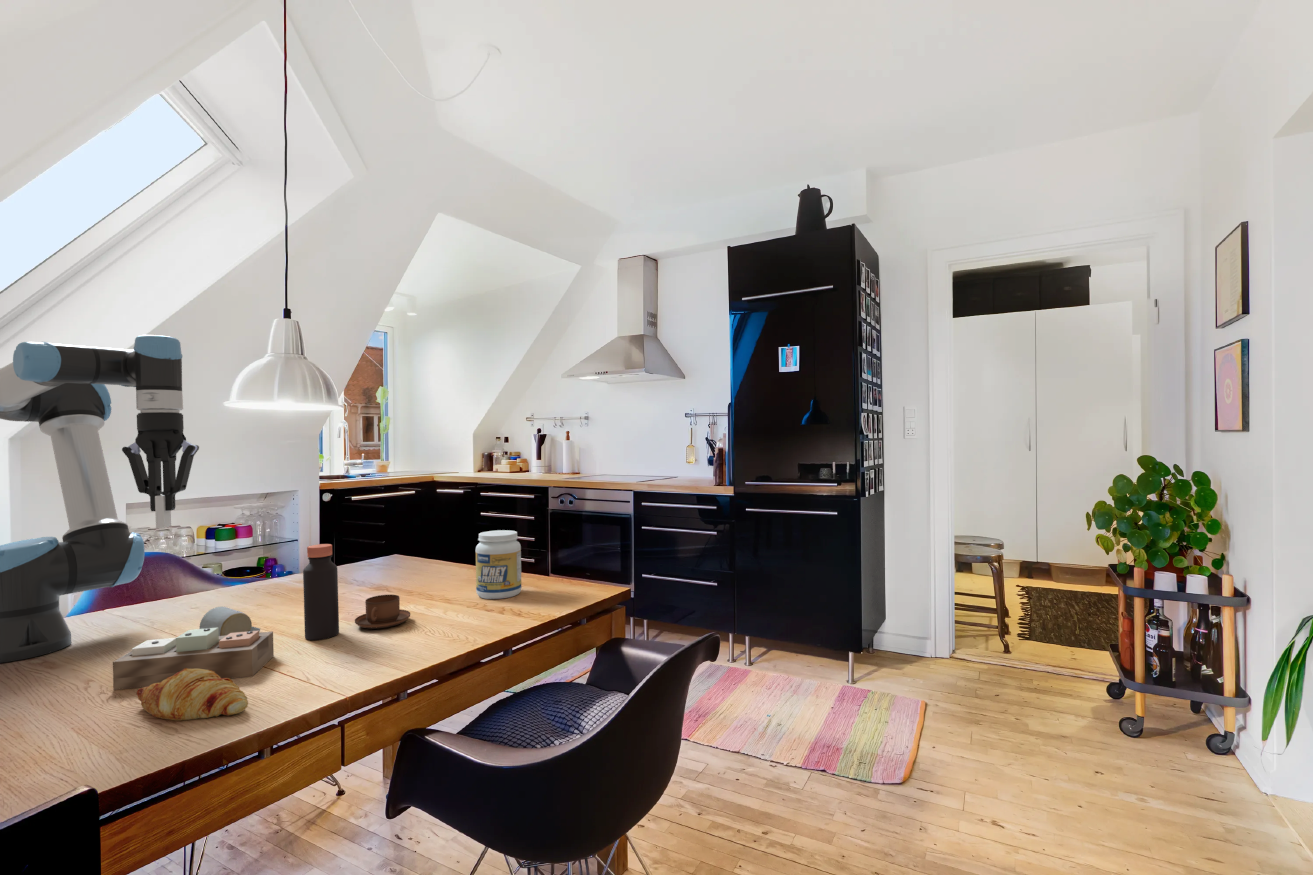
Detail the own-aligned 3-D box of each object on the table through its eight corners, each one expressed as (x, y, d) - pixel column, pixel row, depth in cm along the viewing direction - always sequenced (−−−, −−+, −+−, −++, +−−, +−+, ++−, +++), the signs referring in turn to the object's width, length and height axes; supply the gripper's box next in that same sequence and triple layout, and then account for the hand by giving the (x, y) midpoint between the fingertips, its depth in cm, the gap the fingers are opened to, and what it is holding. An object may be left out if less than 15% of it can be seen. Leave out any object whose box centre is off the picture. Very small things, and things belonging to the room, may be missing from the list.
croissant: (261, 728, 104) (279, 677, 107) (213, 725, 95) (234, 669, 98) (155, 717, 108) (175, 667, 111) (99, 712, 99) (123, 659, 103)
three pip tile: (219, 659, 119) (219, 639, 119) (230, 650, 124) (230, 631, 123) (249, 656, 120) (248, 637, 120) (259, 648, 125) (258, 629, 125)
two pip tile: (176, 656, 117) (175, 636, 117) (189, 647, 122) (188, 628, 122) (207, 653, 118) (206, 634, 118) (219, 645, 123) (218, 626, 123)
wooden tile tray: (113, 689, 112) (112, 661, 112) (147, 667, 123) (146, 642, 123) (252, 676, 117) (251, 649, 117) (273, 655, 128) (273, 631, 128)
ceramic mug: (221, 649, 133) (221, 614, 133) (198, 645, 136) (198, 610, 136) (268, 636, 142) (268, 603, 142) (246, 632, 145) (246, 599, 145)
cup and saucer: (410, 628, 145) (410, 601, 145) (352, 635, 141) (352, 607, 140) (410, 614, 156) (409, 589, 156) (356, 621, 152) (356, 595, 152)
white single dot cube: (132, 667, 115) (131, 647, 115) (147, 658, 120) (147, 639, 120) (164, 664, 117) (163, 644, 117) (177, 655, 121) (177, 636, 121)
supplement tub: (472, 601, 167) (470, 537, 167) (480, 589, 179) (479, 530, 179) (519, 599, 168) (517, 535, 168) (524, 587, 180) (523, 528, 180)
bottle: (346, 631, 143) (343, 543, 143) (322, 641, 136) (320, 549, 136) (321, 630, 145) (319, 542, 145) (297, 639, 138) (294, 548, 138)
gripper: (111, 411, 125) (115, 531, 125) (187, 410, 128) (191, 527, 128) (133, 413, 132) (137, 526, 132) (204, 412, 135) (208, 522, 135)
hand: (163, 526), depth 130 cm, fingers closed
